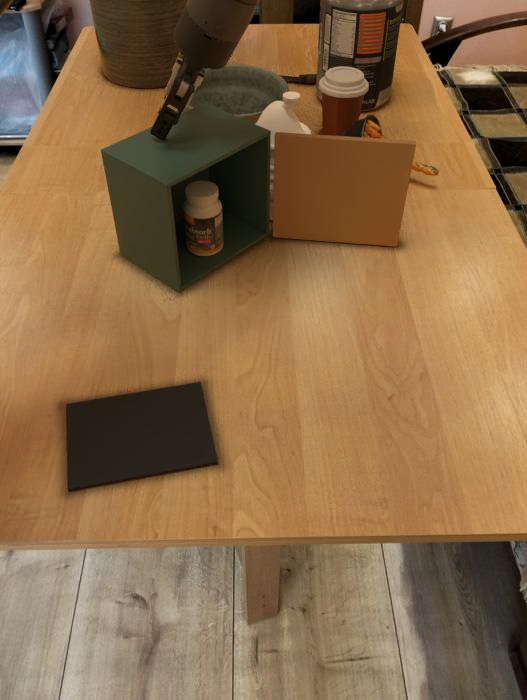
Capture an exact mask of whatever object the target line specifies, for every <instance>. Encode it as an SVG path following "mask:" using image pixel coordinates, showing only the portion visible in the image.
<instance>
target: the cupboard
mask: <svg viewBox="0 0 527 700" xmlns="http://www.w3.org/2000/svg"><path fill="white" fill-rule="evenodd" d="M151 128H152V126H150V127H148V128H145V129H144V130H143V129H142V130H141V131H138V132H137V133H135V134H132V135H130V136H127V137H125V138H124V139H121V140H119V141H117V142H115V143H112V144H110V145H107V146H106V147H103V148H101V149H100V153H101V160H102V164H103V169H104V174H105V180H106V185H107V191H108V197H109V201H110V206H111V212H112V218H113V222H114V223H113V224H114V228H115V233H116V239H117V243H118V249H119V250H118V251H119V254H120V256H121V257H122V258H124V259H126V260H128V261H129V262H130V263H132V264H134V265H135V266H137V267H138V268H140V269H141V270H143V271H144V272H146V273H147V274H149V275H151V276H153V277H154V278H156V279H157V280H159V281H160V282H162V283H164V284H165V285H166V286H168V287H169V288H172V289H173V290H174V291H176V292H177V293H180V292H183V290H185V289H187V288H188V287H190V286H192V285H194V284H195V283H196V282H198V281H199V280H201V279H202V278H204V277H205V276H207V275H209V274H210V273H211V272H213V271H215V270H217V269H218V268H219V267H221V266H223V265H224V264H226V263H227V262H229V261H230V260H232V259H234V258H235V257H236V256H238V255H239V254H241V253H243V252H244V251H246V250H247V249H249V248H251V247H252V246H254V245H255V244H257V243H258V242H259V241H261V240H263V239H264V238H266V237H267V236H269V235H270V220H269V214H270V143H271V131H270V130H268V129H265V128H263V127H261V126H258V125H256V124H253V123H251V122H249V121H246V120H244V119H242V118H239V117H237V116H235V115H232V114H230V113H227V112H225V111H223V110H220V109H218V108H216V107H213V106H211V105H209V104H206V103H204V104H202V105H199V106H197V107H195V108H193V109H190V110H188V111H186V112H184V113H182V114H181V116H180V118H179V122H178V124H176V125H175V126H174V125H173V126H172V128H171V130H170V132H169V133H168V135H167V137H166V139H165V140H160V139H159V138H157V137H155V136H153V135H152V134H151V133H150V131H151ZM195 181H210V182H212V183H214V184H216V185H217V187H218V194H219V196H218V199H219V201H220V202H221V204H222V217H223V247H222V249H221V250H220V251H219V252H218V253H216V254H214V255H211V256H198V255H195V254H193V253H191V252H190V251H189V250H188V249H187V247H186V239H185V225H184V212H183V205H184V202H185V201H186V200H187V199H186V197H185V188H186V186H187V185H188V184H190V183H192V182H195Z"/></svg>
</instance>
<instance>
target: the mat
mask: <svg viewBox="0 0 527 700" xmlns="http://www.w3.org/2000/svg"><path fill="white" fill-rule="evenodd" d="M203 390H204V389H203V387H202V382H201V381H197V382H196V381H195V382H191V383H184V384H178V385H172V386H165V387H160V388H154V389H147V390H141V391H136V392H129V393H125V394H123V393H122V394H116V395H112V396H106V397H100V398H93V399H87V400H81V401H75V402H70V403H66V404H65V412H66V413H65V414H66V415H65V420H66V421H65V423H66V424H65V426H66V480H67V485H66V486H67V491H68V493H70V492H75V491H80V490H86V489H90V488H96V487H102V486H107V485H112V484H118V483H124V482H129V481H134V480H140V479H144V478H150V477H156V476H161V475H165V474H166V475H167V474H171V473H177V472H182V471H188V470H194V469H198V468H203V467H209V466H214V465H215V466H216V465H219V460H218V455H217V451H216V447H215V441H214V436H213V431H212V427H211V423H210V418H209V415H208V414H209V413H208V410H207V405H206V400H205V395H204V391H203Z"/></svg>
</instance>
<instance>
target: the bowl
mask: <svg viewBox="0 0 527 700" xmlns="http://www.w3.org/2000/svg"><path fill="white" fill-rule="evenodd" d="M204 75H205V76H204V79H203V81H202V83H201V85H200V86H198V87H197V89H196V91H195V93H194V95H193V97H192V99H191V101H190V103H189V105H187V106H185V108H184V110H183V112H182V113H184V112H186V111H188V110H190V109H193V108H195V107H197V106H199V105H202V104H204V103H206V104H209V105H211V106H213V107H216V108H218V109H220V110H223V111H225V112H227V113H230V114H232V115H235V116H237V117H239V118H242V119H244V120H246V121H249V122H251V123H253V124H255V123H257V121H258V119H259V118H260V116H261V114H262V113H263V111H264V110H265V109H266V108H267V106H269V105H270V104H271V103H273V102H275V101H283V94H284V93H285V92H290V87H289V85H288V82H287V80H284V79H283V78H282V77H281V76H279V75H280V74H277V73H276V72H274V71H271V70H269V69H267V68H264V67H261V66H258V65H257V66H256V65H252V64H245V63H244V64H243V63H227V64H226V66H224V67H223V68H221V69H209V68H207V70H206V72H205V73H204ZM283 102H284V101H283Z"/></svg>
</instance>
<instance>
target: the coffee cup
mask: <svg viewBox="0 0 527 700" xmlns="http://www.w3.org/2000/svg"><path fill="white" fill-rule="evenodd" d="M368 88H369V83H368V82H367V81H366V79H365V78H364V74H363V72H362V71H361V70H359V69H356V68H353V67H345V66H340V67H334V68H331V69H329V70H328V71H326V73H325V76H324V77H323V78H321V79H320V81H319V89H320V90H321V91H322V101H321V116H322V117H321V118H322V119H321V120H322V122H321V123H322V129H321V130H322V131H321V133H322V134H321V135H331V136H342V135H343V133H344V132H345V131H347V130H348V129H349V128H350V126H351V125H353V124H354V123H355V122H356V121H358V120H360V117H361V112H362V111H361V107H362V102H363V97H364V94H365V93H366V92H367V91H368Z"/></svg>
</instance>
